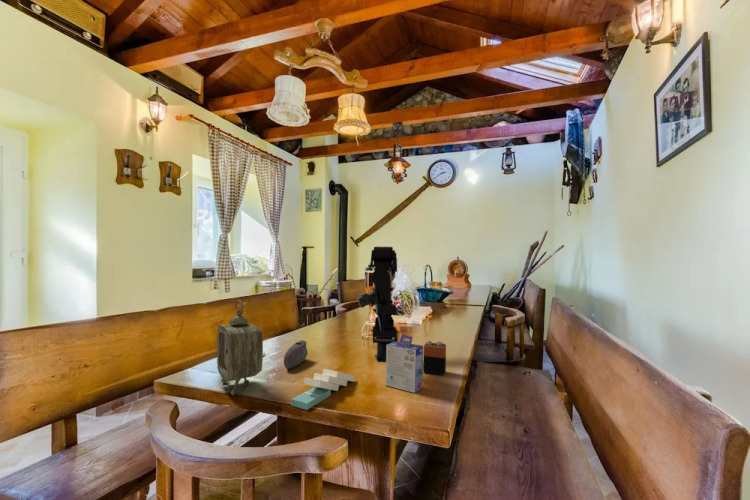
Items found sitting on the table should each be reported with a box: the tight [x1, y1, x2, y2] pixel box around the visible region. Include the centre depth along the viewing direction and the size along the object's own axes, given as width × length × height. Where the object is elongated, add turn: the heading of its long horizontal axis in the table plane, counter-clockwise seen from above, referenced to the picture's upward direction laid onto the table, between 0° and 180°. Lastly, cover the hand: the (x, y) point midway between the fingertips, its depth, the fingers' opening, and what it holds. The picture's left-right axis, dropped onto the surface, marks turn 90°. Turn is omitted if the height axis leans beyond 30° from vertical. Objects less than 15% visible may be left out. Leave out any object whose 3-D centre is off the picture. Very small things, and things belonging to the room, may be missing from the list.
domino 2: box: [290, 386, 332, 411], centre depth 87 cm, size 2×5×10 cm
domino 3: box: [312, 372, 348, 387], centre depth 94 cm, size 2×5×10 cm
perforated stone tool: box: [283, 339, 308, 370], centre depth 115 cm, size 15×5×7 cm, turn 168°
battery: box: [423, 340, 447, 376], centre depth 109 cm, size 4×7×10 cm, turn 72°
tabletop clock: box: [216, 299, 264, 396], centre depth 95 cm, size 14×9×25 cm, turn 37°
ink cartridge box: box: [385, 334, 424, 394], centre depth 97 cm, size 10×6×14 cm, turn 58°
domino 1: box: [302, 376, 340, 392], centre depth 90 cm, size 2×5×10 cm
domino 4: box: [321, 368, 355, 382], centre depth 97 cm, size 2×5×10 cm
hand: (382, 331), depth 109 cm, fingers closed
